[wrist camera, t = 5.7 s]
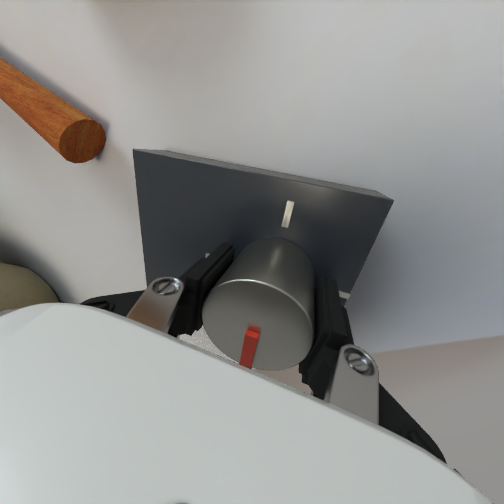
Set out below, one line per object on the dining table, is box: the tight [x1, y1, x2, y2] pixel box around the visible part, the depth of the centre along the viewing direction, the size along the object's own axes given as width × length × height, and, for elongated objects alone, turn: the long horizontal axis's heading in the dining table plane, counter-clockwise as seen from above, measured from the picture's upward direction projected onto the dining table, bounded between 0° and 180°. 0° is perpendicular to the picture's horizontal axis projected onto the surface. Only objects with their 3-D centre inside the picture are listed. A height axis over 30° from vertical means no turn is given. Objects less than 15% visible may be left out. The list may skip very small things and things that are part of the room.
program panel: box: [133, 149, 394, 307], centre depth 14 cm, size 14×11×3 cm
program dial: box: [201, 238, 315, 370], centre depth 10 cm, size 5×5×5 cm
